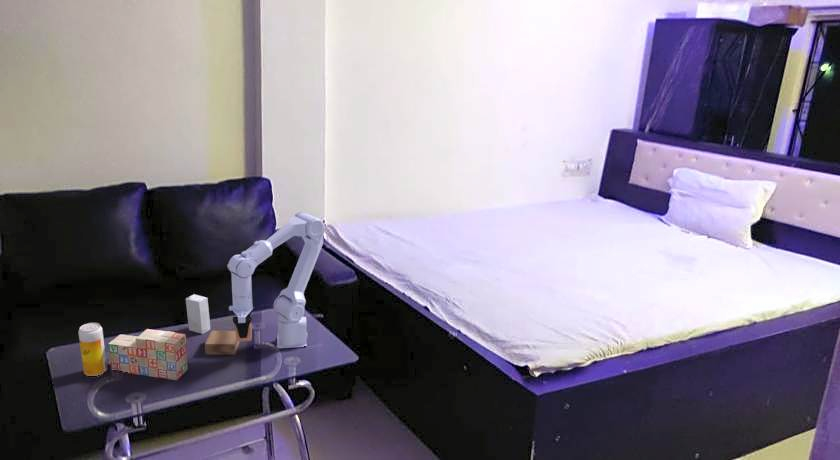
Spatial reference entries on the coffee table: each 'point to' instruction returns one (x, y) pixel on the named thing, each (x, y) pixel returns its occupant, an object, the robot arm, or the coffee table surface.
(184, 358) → the stack of blocks
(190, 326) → the skincare box
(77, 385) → the coffee table surface
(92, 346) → the beer can
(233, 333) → the walnut block
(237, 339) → the terracotta cube
